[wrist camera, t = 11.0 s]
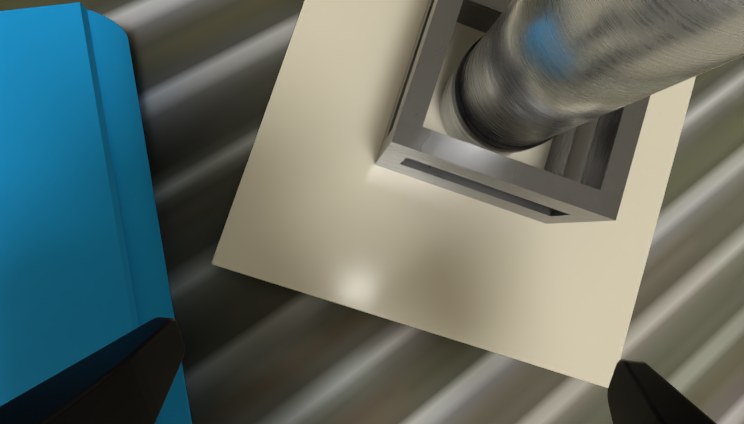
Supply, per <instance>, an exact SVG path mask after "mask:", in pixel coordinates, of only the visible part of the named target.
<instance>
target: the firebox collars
mask: <svg viewBox="0 0 744 424" xmlns="http://www.w3.org/2000/svg"><path fill="white" fill-rule="evenodd" d="M511 1H512V0H429V1H428V4H427V7H426V10H425V13H424V16H423V19H422V22H421V25H420V28H419V31H418V34H417V37H416V40H415V44H414V47H413V50H412V53H411V56H410V59H409V62H408V65H407V68H406V71H405V74H404V77H403V80H402V83H401V86H400V89H399V92H398V95H397V98H396V101H395V104H394V107H393V110H392V113H391V116H390V120H389V123H388V126H387V129H386V132H385V135H384V138H383V141H382V144H381V147H380V150H379V153H378V156H377V159H376V162H375V165H377V166H380V167H383V168H386V169H389V170H392V171H395V172H398V173H401V174H403V175H406V176H409V177H412V178H415V179H418V180H421V181H424V182H427V183H429V184H432V185H435V186H438V187H441V188H444V189H447V190H450V191H453V192H456V193H458V194H461V195H464V196H467V197H470V198H473V199H476V200H479V201H482V202H485V203H487V204H490V205H493V206H496V207H499V208H502V209H505V210H508V211H511V212H513V213H516V214H519V215H522V216H525V217H528V218H531V219H534V220H537V221H540V222H542V223H545V224H552V223H574V222H595V221H616V218H617V215H618V211H619V207H620V204H621V200H622V197H623V193H624V189H625V186H626V182H627V178H628V175H629V171H630V168H631V164H632V160H633V157H634V153H635V150H636V146H637V142H638V139H639V135H640V132H641V128H642V124H643V121H644V117H645V113H646V110H647V106H648V103H649V99H650V96H647V97H645V98H643V99H640V100H638V101H636V102H633V103H631V104H629V105H626V106H624V107H622V108H619V109H617V110H614V111H612V112H610V113H607V114H605V115H603V116H600V117H598V118H596V119H593V120H591V121H589V122H586V123H584V124H581V125H579V126H577V127H574V128H572V129H570V130H567V131H565V132H563V133H560V134H558V135H556V136H555V137H553V140H552V144H551V147H550V150H549V154H548V157H547V161H546V164H545V167H544V170H542V169H539V168H537V167H534V166H531V165H528V164H525V163H523V162H520V161H517V160H514V159H511V158H509V157H506V156H503V155H500V154H497V153H495V152H492V151H489V150H486V149H483V148H481V147H478V146H475V145H472V144H469V143H467V142H464V141H461V140H458V139H455V138H453V137H450V136H447V135H444V134H441V133H439V132H436V131H433V130H430V129H427V128H425V127H423V124H424V121H425V117H426V114H427V111H428V108H429V105H430V102H431V99H432V96H433V93H434V89H435V86H436V83H437V80H438V77H439V74H440V71H441V68H442V65H443V61H444V58H445V55H446V52H447V49H448V46H449V43H450V40H451V37H452V33H453V30H454V27H455V24H456V22H458V23H460V24H463V25H465V26H468V27H471V28H473V29H476V30H479V31H481V32H484V33H486V32H487V31H488V30H489V29H490V27H491V26H492V25H493V24H494V22H495V21H496V20H497V19H498V18H499V16H500V15H501V14H502V13H503V11H504V10H505V9H506V8H507V6H508V5H509V4H510V3H511Z"/></svg>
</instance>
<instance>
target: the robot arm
mask: <svg viewBox="0 0 744 424" xmlns="http://www.w3.org/2000/svg"><path fill="white" fill-rule="evenodd" d="M184 354H185V344H184V341H183V338H182V334H181V331H180V328H179V324H178V322H177V321H176V320H175V319H173V318H165V317H156V318H154V319H152V320H150V321H148V322H147V323H145V324H143V325H141V326H140V327H138V328H136V329H134V330H133V331H131V332H129V333H127V334H126V335H124V336H122V337H120V338H119V339H117V340H115V341H113V342H112V343H110V344H108V345H106V346H105V347H103V348H101V349H99V350H98V351H96V352H94V353H92V354H91V355H89V356H87V357H85V358H84V359H82V360H80V361H78V362H77V363H75V364H73V365H71V366H70V367H68V368H66V369H64V370H63V371H61V372H59V373H57V374H56V375H54V376H52V377H50V378H49V379H47V380H45V381H43V382H42V383H40V384H38V385H36V386H35V387H33V388H31V389H29V390H28V391H26V392H24V393H22V394H21V395H19V396H17V397H15V398H14V399H12V400H10V401H8V402H7V403H5V404H3V405H1V406H0V424H155V422H156V420H157V417H158V415H159V413H160V411H161V409H162V406H163V404H164V402H165V399H166V397H167V395H168V392H169V390H170V388H171V385H172V383H173V381H174V378H175V376H176V374H177V371H178V369H179V367H180V364H181V362H182V360H183V357H184ZM608 403H609V408H610V412H611V417H612V421H613V424H716V423H715V422H714V421H713V420H711V419H710V418H709V417H708V416H707V415H706V414H705V413H703V412H702V411H701V410H700V409H699V408H698V407H696V406H695V405H694V404H693V403H692V402H691V401H689V400H688V399H687V398H686V397H685V396H684V395H682V394H681V393H680V392H679V391H678V390H677V389H675V388H674V387H673V386H672V385H671V384H670V383H668V382H667V381H666V380H665V379H664V378H663V377H662V376H660V375H659V374H658V373H657V372H656V371H655V370H653V369H652V368H651V367H650V366H649V365H647V364H646V363H645V362H642V361H637V360H626V359H622V360H619V361H618V362H617V364H616V367H615V370H614V372H613V375H612V378H611V381H610V384H609V387H608Z"/></svg>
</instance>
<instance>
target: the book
mask: <svg viewBox="0 0 744 424" xmlns="http://www.w3.org/2000/svg"><path fill="white" fill-rule="evenodd" d="M156 317H165V318H173V319H175V318H174V312H173V306H172V300H171V294H170V288H169V282H168V276H167V270H166V264H165V258H164V252H163V246H162V240H161V234H160V228H159V222H158V216H157V210H156V203H155V197H154V191H153V185H152V179H151V173H150V167H149V161H148V155H147V149H146V143H145V137H144V131H143V125H142V119H141V113H140V107H139V101H138V95H137V89H136V83H135V77H134V71H133V65H132V59H131V53H130V47H129V41H128V37H127V34H126V33H125V31H124V30H123V29H122V28H121V27H120V26H119V25H118V24H116V23H115V22H114V21H112V20H110V19H109V18H107V17H105V16H103V15H100V14H98V13H96V12H93V11H90V10H87V9H86V8H85V7H84V6H83V5H82V4H81V3H80V2H79V3H70V4H61V5H52V6H43V7H34V8H25V9H16V10H7V11H0V406H1V405H3V404H5V403H7V402H8V401H10V400H12V399H14V398H15V397H17V396H19V395H21V394H22V393H24V392H26V391H28V390H29V389H31V388H33V387H35V386H36V385H38V384H40V383H42V382H43V381H45V380H47V379H49V378H50V377H52V376H54V375H56V374H57V373H59V372H61V371H63V370H64V369H66V368H68V367H70V366H71V365H73V364H75V363H77V362H78V361H80V360H82V359H84V358H85V357H87V356H89V355H91V354H92V353H94V352H96V351H98V350H99V349H101V348H103V347H105V346H106V345H108V344H110V343H112V342H113V341H115V340H117V339H119V338H120V337H122V336H124V335H126V334H127V333H129V332H131V331H133V330H134V329H136V328H138V327H140V326H141V325H143V324H145V323H147V322H148V321H150V320H152V319H154V318H156ZM155 424H192V420H191V414H190V408H189V402H188V396H187V390H186V384H185V378H184V372H183V366H182V362H181V364H180V367H179V369H178V371H177V374H176V376H175V378H174V381H173V383H172V385H171V388H170V390H169V392H168V395H167V397H166V399H165V402H164V404H163V406H162V409H161V411H160V413H159V415H158V417H157V420H156V422H155Z"/></svg>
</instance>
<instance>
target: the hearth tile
mask: <svg viewBox="0 0 744 424" xmlns="http://www.w3.org/2000/svg"><path fill="white" fill-rule="evenodd" d="M428 1H429V0H305V1H304V4H303V7H302V10H301V13H300V15H299V18H298V21H297V24H296V27H295V30H294V32H293V35H292V38H291V41H290V44H289V46H288V49H287V52H286V55H285V58H284V61H283V63H282V66H281V69H280V72H279V75H278V77H277V80H276V83H275V86H274V89H273V92H272V94H271V97H270V100H269V103H268V106H267V108H266V111H265V114H264V117H263V120H262V123H261V125H260V128H259V131H258V134H257V137H256V139H255V142H254V145H253V148H252V151H251V153H250V156H249V159H248V162H247V165H246V168H245V170H244V173H243V176H242V179H241V182H240V184H239V187H238V190H237V193H236V196H235V199H234V201H233V204H232V207H231V210H230V213H229V215H228V218H227V221H226V224H225V227H224V230H223V232H222V235H221V238H220V241H219V244H218V246H217V249H216V252H215V255H214V258H213V261H212V263H211V264H213V265H216V266H219V267H222V268H225V269H229V270H232V271H235V272H238V273H241V274H245V275H248V276H251V277H254V278H257V279H261V280H264V281H267V282H270V283H273V284H277V285H280V286H283V287H286V288H289V289H293V290H296V291H299V292H302V293H305V294H309V295H312V296H315V297H318V298H321V299H325V300H328V301H331V302H334V303H337V304H341V305H344V306H347V307H350V308H353V309H357V310H360V311H363V312H366V313H369V314H373V315H376V316H379V317H382V318H385V319H389V320H392V321H395V322H398V323H401V324H405V325H408V326H411V327H414V328H417V329H421V330H424V331H427V332H430V333H433V334H437V335H440V336H443V337H446V338H450V339H453V340H456V341H459V342H462V343H466V344H469V345H472V346H475V347H478V348H482V349H485V350H488V351H491V352H494V353H498V354H501V355H504V356H507V357H510V358H514V359H517V360H520V361H523V362H526V363H530V364H533V365H536V366H539V367H542V368H546V369H549V370H552V371H555V372H558V373H562V374H565V375H568V376H571V377H574V378H578V379H581V380H584V381H587V382H590V383H594V384H597V385H600V386H603V387H606V388H608V387H609V384H610V381H611V378H612V375H613V372H614V370H615V367H616V364H617V362H618V361H619V360H620V357H621V354H622V350H623V346H624V342H625V339H626V335H627V331H628V327H629V324H630V320H631V316H632V313H633V309H634V305H635V301H636V298H637V294H638V290H639V287H640V283H641V279H642V275H643V272H644V268H645V264H646V260H647V257H648V253H649V249H650V246H651V242H652V238H653V234H654V231H655V227H656V223H657V220H658V216H659V212H660V208H661V205H662V201H663V197H664V193H665V190H666V186H667V182H668V179H669V175H670V171H671V167H672V164H673V160H674V156H675V153H676V149H677V145H678V141H679V138H680V134H681V130H682V126H683V123H684V119H685V115H686V112H687V108H688V104H689V100H690V97H691V93H692V89H693V86H694V82H695V78H696V76H695V77H692V78H690V79H687V80H685V81H683V82H680V83H678V84H676V85H673V86H671V87H669V88H666V89H664V90H662V91H659V92H657V93H654V94H652V95H650V99H649V103H648V106H647V110H646V113H645V117H644V121H643V124H642V128H641V132H640V135H639V139H638V142H637V146H636V150H635V153H634V157H633V160H632V164H631V168H630V171H629V175H628V178H627V182H626V186H625V189H624V193H623V197H622V200H621V204H620V207H619V211H618V215H617V218H616V221H595V222H574V223H552V224H545V223H542V222H540V221H537V220H534V219H531V218H528V217H525V216H522V215H519V214H516V213H513V212H511V211H508V210H505V209H502V208H499V207H496V206H493V205H490V204H487V203H485V202H482V201H479V200H476V199H473V198H470V197H467V196H464V195H461V194H458V193H456V192H453V191H450V190H447V189H444V188H441V187H438V186H435V185H432V184H429V183H427V182H424V181H421V180H418V179H415V178H412V177H409V176H406V175H403V174H401V173H398V172H395V171H392V170H389V169H386V168H383V167H380V166H377V165H375V162H376V159H377V156H378V153H379V150H380V147H381V144H382V141H383V138H384V135H385V132H386V129H387V126H388V123H389V120H390V116H391V113H392V110H393V107H394V104H395V101H396V98H397V95H398V92H399V89H400V86H401V83H402V80H403V77H404V74H405V71H406V68H407V65H408V62H409V59H410V56H411V53H412V50H413V47H414V44H415V40H416V37H417V34H418V31H419V28H420V25H421V22H422V19H423V16H424V13H425V10H426V7H427V4H428ZM485 34H486V33H484V32H481V31H479V30H476V29H473V28H471V27H468V26H465V25H463V24H460V23H458V22H456V24H455V27H454V30H453V33H452V37H451V40H450V43H449V46H448V49H447V52H446V55H445V58H444V61H443V65H442V68H441V71H440V74H439V77H438V80H437V83H436V86H435V89H434V93H433V96H432V99H431V102H430V105H429V108H428V111H427V114H426V117H425V121H424V124H423V127H425V128H427V129H430V130H433V131H436V132H439V133H441V134H444V135H447V134H446V132H445V130H444V128H443V125H442V122H441V118H440V110H439V107H440V97H441V94H442V90H443V88H444V86H445V84H446V82H447V81H448V79H449V78H450V77H451V76H452V74H453V73H454V72H455V70H456V68H457V66H458V64H459V62H460V61H461V59H462V58H463V57H464V55H465V54H466V53H467V52H468V50H469V49H470V48H471V47H472V46H473V44H474V43H475V42H477V41H478V40H479V39H480V38H482V37H483V36H484V35H485ZM447 136H448V135H447ZM552 140H553V138H552V139H550V140H549V141H547V142H545V143H543V144H541V145H539V146H536V147H534V148H531V149H529V150H526V151H522V152H516V153H513V154H511V155H508V156H506V157H509V158H511V159H514V160H517V161H520V162H523V163H525V164H528V165H531V166H534V167H537V168H539V169H542V170H544V167H545V164H546V161H547V157H548V154H549V150H550V147H551V144H552Z"/></svg>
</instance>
